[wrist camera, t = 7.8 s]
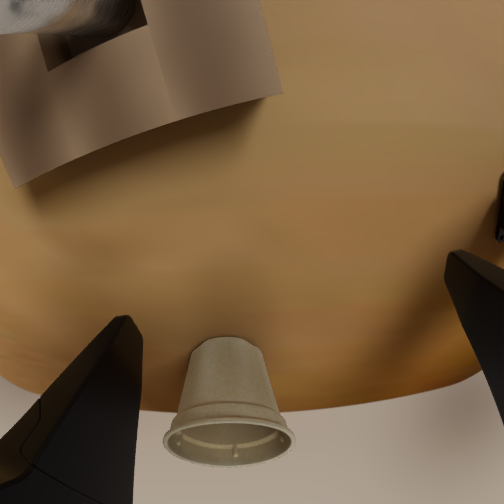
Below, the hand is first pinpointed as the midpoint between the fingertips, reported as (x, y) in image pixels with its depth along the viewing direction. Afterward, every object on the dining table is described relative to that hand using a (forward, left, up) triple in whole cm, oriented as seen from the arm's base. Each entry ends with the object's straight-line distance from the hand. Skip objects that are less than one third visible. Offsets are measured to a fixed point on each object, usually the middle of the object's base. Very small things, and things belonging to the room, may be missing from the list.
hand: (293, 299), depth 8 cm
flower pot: (+6, +16, -12) cm, 21 cm away
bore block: (+5, -11, -12) cm, 17 cm away
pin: (+5, -11, -11) cm, 16 cm away
